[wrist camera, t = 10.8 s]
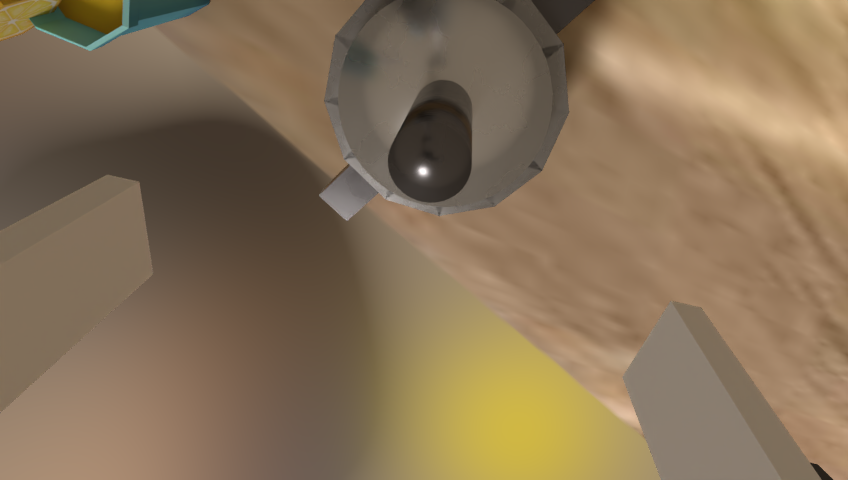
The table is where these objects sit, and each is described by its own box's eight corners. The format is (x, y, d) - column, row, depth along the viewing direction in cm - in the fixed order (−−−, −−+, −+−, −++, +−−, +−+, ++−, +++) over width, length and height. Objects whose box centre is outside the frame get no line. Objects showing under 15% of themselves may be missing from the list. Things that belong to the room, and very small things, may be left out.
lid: (355, -37, 24) (285, -50, 15) (582, 16, 25) (645, 35, 15) (334, 176, 31) (276, 255, 22) (512, 217, 31) (528, 312, 22)
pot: (413, 232, 41) (402, 275, 35) (286, 111, 36) (248, 136, 30) (636, 54, 31) (674, 71, 25) (504, -139, 27) (513, -175, 21)
